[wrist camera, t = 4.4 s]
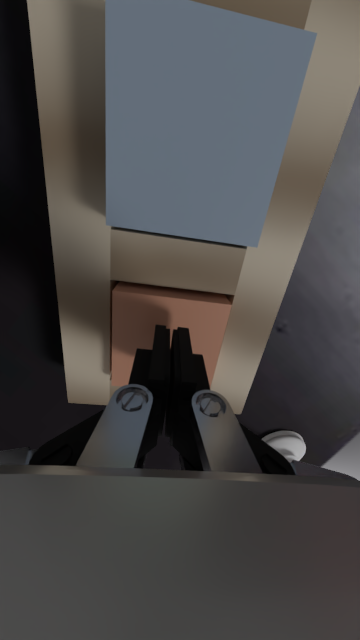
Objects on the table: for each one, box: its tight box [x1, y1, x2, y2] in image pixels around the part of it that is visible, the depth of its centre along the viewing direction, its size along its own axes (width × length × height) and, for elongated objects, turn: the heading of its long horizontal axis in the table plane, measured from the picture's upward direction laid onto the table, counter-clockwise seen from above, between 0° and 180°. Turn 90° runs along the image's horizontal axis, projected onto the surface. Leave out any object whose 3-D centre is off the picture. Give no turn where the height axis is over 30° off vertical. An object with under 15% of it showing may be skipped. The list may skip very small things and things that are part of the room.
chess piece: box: [262, 431, 306, 462], centre depth 18 cm, size 5×5×10 cm
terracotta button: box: [112, 281, 232, 387], centre depth 14 cm, size 6×6×3 cm
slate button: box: [105, 0, 317, 248], centre depth 9 cm, size 6×6×3 cm
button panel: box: [27, 0, 360, 414], centre depth 10 cm, size 29×12×3 cm, turn 172°
